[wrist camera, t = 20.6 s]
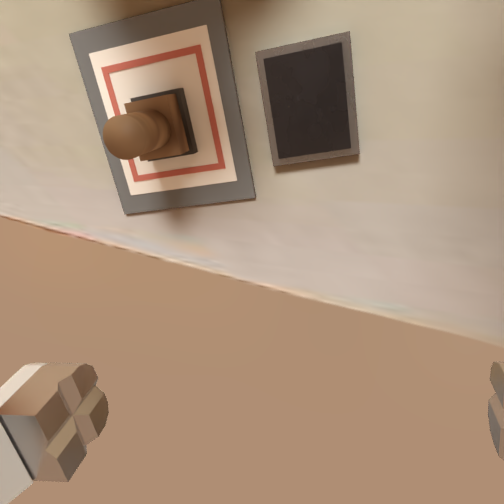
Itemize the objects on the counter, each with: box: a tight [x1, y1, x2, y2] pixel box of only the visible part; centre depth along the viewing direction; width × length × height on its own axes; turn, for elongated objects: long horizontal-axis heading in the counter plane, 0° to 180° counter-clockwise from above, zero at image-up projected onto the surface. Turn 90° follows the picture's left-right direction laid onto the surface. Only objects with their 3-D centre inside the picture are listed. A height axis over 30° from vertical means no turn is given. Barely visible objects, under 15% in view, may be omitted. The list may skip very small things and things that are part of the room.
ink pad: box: [255, 31, 360, 166], centre depth 36 cm, size 10×8×2 cm
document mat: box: [69, 0, 256, 214], centre depth 40 cm, size 18×15×1 cm
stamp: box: [103, 88, 198, 162], centre depth 36 cm, size 6×5×9 cm
